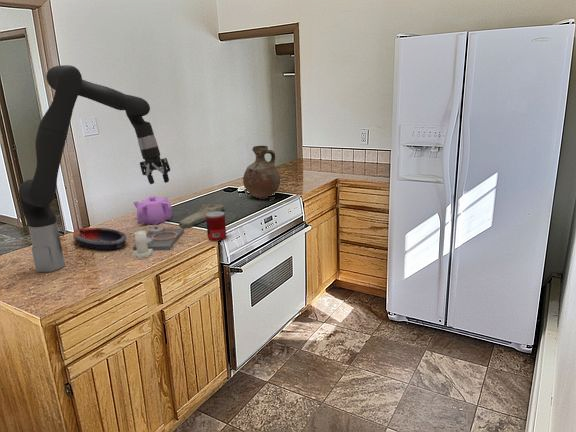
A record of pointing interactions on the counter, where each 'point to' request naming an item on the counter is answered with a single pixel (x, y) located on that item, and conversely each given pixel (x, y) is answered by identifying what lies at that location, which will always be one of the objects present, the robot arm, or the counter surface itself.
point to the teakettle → (153, 210)
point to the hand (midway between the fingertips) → (159, 183)
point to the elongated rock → (200, 215)
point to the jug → (262, 174)
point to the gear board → (161, 238)
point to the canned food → (216, 225)
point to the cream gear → (141, 246)
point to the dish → (100, 238)
